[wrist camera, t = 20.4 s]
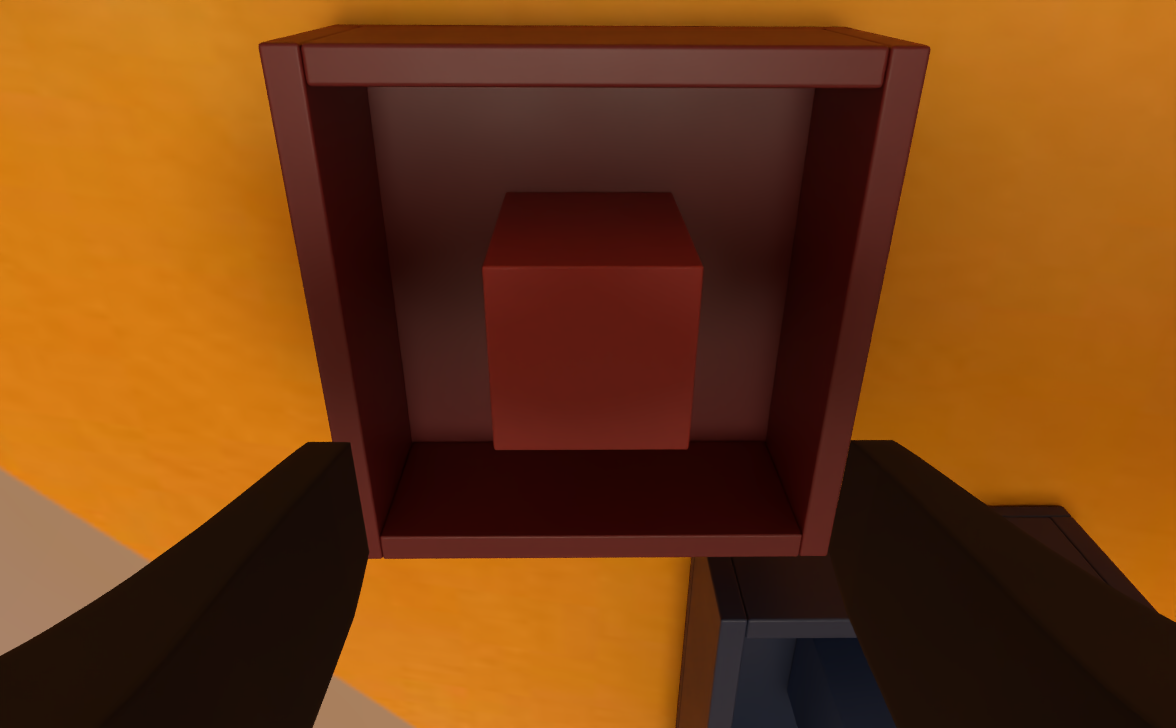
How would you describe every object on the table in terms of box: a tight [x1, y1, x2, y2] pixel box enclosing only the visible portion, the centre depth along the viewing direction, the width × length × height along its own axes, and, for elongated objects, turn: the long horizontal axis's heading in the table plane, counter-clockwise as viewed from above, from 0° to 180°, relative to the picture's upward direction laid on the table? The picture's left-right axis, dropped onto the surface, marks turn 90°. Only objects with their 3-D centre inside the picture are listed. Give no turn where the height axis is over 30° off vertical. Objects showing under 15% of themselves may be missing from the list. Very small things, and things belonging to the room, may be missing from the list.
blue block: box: [787, 638, 897, 728], centre depth 23 cm, size 4×4×5 cm
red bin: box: [259, 25, 930, 559], centre depth 17 cm, size 11×11×4 cm
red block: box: [482, 192, 704, 450], centre depth 16 cm, size 4×4×5 cm
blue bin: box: [676, 507, 1158, 728], centre depth 24 cm, size 11×11×4 cm
